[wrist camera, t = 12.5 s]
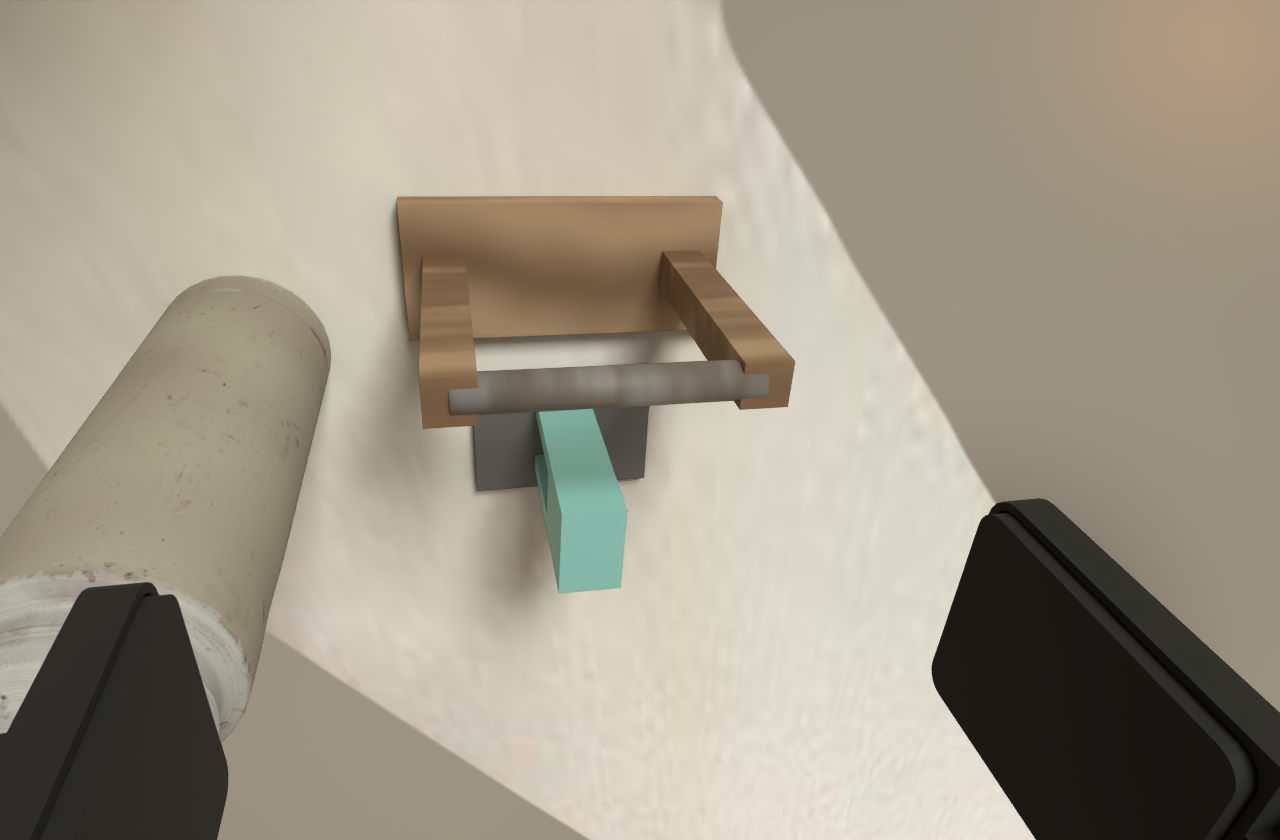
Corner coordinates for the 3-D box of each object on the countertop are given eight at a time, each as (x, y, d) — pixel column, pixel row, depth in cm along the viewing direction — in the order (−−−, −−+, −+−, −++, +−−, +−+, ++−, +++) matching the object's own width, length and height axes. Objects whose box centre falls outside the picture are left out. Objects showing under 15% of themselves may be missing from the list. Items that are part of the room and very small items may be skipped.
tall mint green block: (536, 400, 46) (561, 514, 37) (589, 398, 46) (627, 510, 37) (535, 469, 48) (558, 593, 39) (585, 466, 49) (620, 588, 39)
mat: (471, 379, 45) (471, 384, 44) (648, 370, 47) (650, 375, 46) (477, 484, 48) (477, 490, 48) (641, 472, 50) (643, 477, 50)
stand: (397, 196, 39) (380, 315, 27) (715, 196, 43) (832, 301, 30) (410, 330, 43) (400, 491, 30) (703, 320, 46) (803, 461, 34)
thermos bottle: (335, 418, 44) (224, 962, 21) (172, 418, 42) (-157, 1018, 19) (326, 278, 40) (176, 749, 17) (146, 271, 39) (-309, 792, 15)
